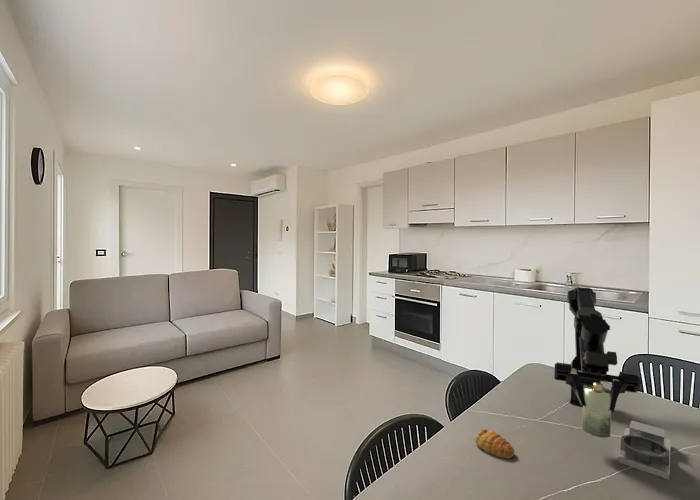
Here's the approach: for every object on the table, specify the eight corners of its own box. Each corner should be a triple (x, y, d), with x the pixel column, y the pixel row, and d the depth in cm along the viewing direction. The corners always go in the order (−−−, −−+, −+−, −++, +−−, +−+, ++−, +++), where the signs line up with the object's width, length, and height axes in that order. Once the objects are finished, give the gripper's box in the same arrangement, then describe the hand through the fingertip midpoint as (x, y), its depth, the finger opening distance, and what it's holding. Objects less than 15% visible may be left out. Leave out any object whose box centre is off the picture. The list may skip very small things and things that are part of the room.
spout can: (581, 422, 94) (581, 375, 94) (608, 428, 91) (609, 379, 91) (583, 433, 89) (584, 383, 88) (612, 440, 86) (613, 388, 85)
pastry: (519, 454, 90) (519, 439, 90) (505, 464, 86) (506, 449, 86) (486, 437, 97) (486, 424, 97) (472, 446, 93) (472, 432, 93)
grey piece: (617, 462, 86) (618, 444, 86) (625, 433, 99) (626, 417, 99) (669, 480, 80) (669, 460, 80) (670, 446, 93) (670, 429, 93)
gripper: (555, 333, 97) (556, 387, 88) (639, 343, 88) (651, 403, 79) (553, 353, 104) (554, 404, 95) (631, 363, 95) (641, 421, 86)
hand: (597, 408), depth 89 cm, fingers closed on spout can, 6 cm apart
